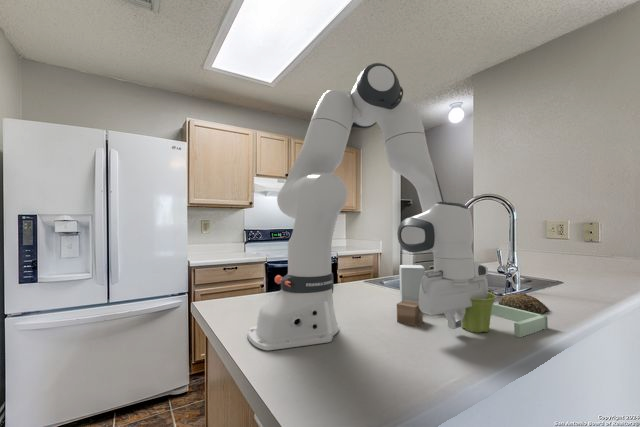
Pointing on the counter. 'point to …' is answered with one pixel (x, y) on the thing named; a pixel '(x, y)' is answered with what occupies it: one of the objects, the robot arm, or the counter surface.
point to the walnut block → (409, 313)
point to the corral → (521, 319)
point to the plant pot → (478, 314)
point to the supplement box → (410, 282)
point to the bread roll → (523, 303)
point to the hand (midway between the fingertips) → (455, 327)
